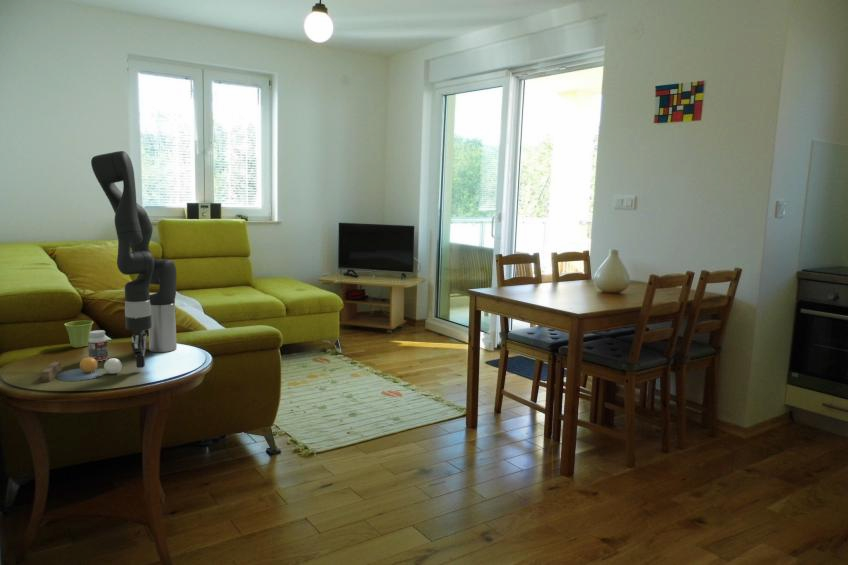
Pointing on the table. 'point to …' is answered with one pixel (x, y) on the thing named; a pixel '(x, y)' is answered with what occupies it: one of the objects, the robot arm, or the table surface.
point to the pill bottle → (98, 345)
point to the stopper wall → (51, 371)
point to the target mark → (77, 375)
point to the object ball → (88, 365)
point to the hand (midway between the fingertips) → (140, 366)
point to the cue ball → (112, 366)
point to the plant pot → (79, 332)
